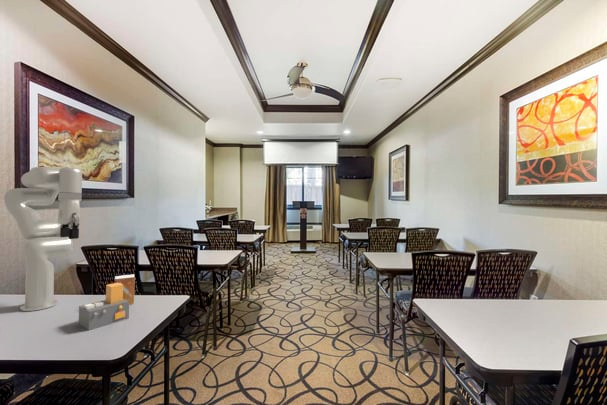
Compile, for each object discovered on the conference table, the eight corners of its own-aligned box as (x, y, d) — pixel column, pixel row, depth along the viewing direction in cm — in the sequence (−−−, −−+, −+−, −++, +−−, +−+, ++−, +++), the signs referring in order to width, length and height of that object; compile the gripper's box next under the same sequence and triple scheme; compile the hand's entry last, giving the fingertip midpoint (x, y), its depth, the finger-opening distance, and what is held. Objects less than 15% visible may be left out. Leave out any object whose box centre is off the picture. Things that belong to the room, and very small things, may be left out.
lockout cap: (105, 301, 116) (106, 284, 116) (117, 298, 120) (118, 282, 120) (110, 304, 113) (111, 287, 113) (122, 301, 117) (123, 284, 117)
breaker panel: (78, 323, 110) (79, 303, 110) (117, 312, 122) (118, 294, 122) (89, 330, 104) (90, 309, 105) (129, 318, 116) (129, 299, 116)
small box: (113, 307, 128) (114, 279, 129) (114, 303, 134) (114, 276, 134) (134, 304, 133) (134, 276, 133) (133, 300, 138) (134, 273, 138)
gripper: (51, 197, 119) (50, 237, 119) (66, 196, 110) (65, 240, 109) (73, 197, 125) (72, 235, 125) (89, 197, 116) (88, 238, 116)
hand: (69, 237), depth 117 cm, fingers open, 9 cm apart
